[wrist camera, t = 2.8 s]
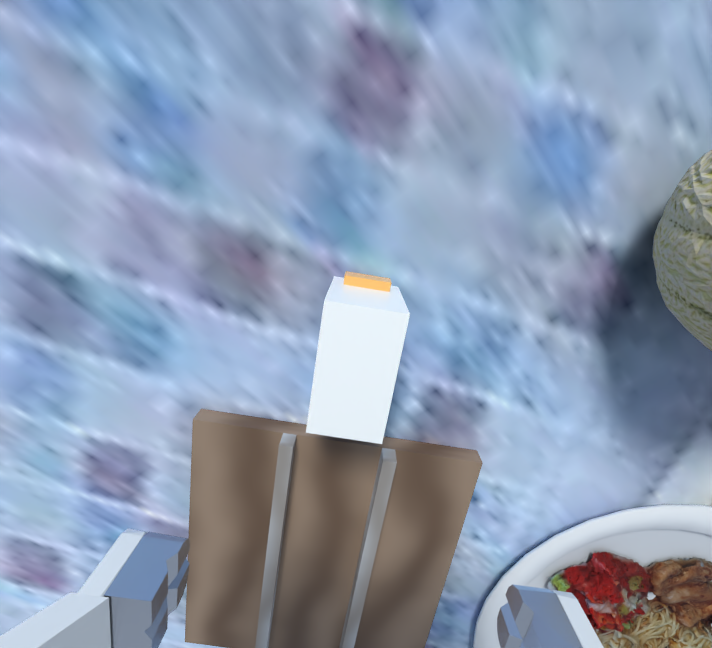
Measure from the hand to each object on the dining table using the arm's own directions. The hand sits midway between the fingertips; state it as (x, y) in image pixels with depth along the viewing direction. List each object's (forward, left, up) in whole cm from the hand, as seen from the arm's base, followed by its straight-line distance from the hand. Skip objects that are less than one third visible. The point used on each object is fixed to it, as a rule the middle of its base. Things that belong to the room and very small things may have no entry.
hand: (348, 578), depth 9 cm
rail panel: (0, -20, -19) cm, 27 cm away
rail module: (0, 0, -19) cm, 19 cm away
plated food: (+30, -24, -19) cm, 43 cm away
